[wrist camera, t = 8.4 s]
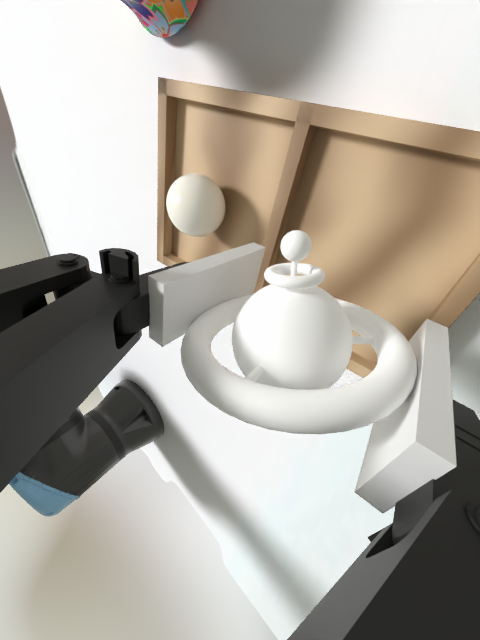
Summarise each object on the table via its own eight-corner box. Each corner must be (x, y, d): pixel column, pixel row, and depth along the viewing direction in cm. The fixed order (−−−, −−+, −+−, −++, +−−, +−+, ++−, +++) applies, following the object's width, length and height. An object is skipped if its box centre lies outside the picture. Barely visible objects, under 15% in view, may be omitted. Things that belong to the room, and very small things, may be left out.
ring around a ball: (255, 317, 15) (142, 398, 9) (254, 215, 13) (99, 242, 7) (410, 359, 11) (379, 551, 5) (457, 220, 8) (496, 297, 3)
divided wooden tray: (170, 256, 31) (157, 260, 30) (176, 84, 22) (158, 77, 20) (393, 379, 21) (390, 393, 20) (583, 156, 12) (603, 152, 10)
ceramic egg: (193, 223, 26) (153, 229, 22) (198, 167, 23) (153, 164, 19) (231, 240, 24) (194, 250, 20) (241, 182, 21) (201, 182, 17)
